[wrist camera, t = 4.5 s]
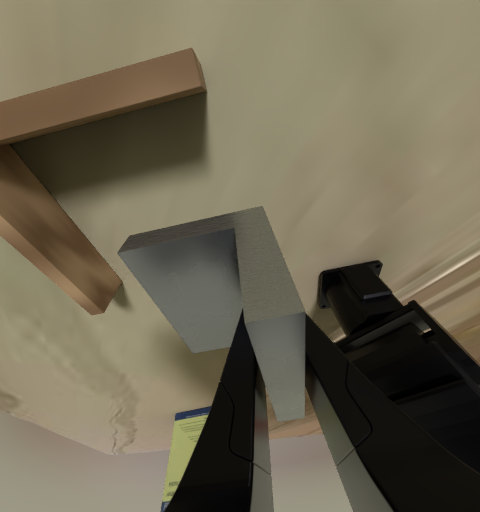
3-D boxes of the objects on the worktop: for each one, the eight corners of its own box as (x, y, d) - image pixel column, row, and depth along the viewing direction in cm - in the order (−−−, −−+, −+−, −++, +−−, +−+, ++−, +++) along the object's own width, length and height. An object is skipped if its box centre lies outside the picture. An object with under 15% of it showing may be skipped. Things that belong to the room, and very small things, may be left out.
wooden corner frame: (245, 255, 20) (250, 284, 17) (111, 283, 21) (91, 315, 18) (200, 64, 11) (191, 47, 8) (-27, 127, 12) (-115, 134, 9)
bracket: (278, 320, 13) (304, 417, 9) (195, 335, 13) (183, 435, 9) (262, 205, 8) (305, 311, 4) (129, 235, 8) (41, 360, 4)
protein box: (174, 413, 49) (158, 517, 36) (232, 401, 46) (236, 508, 34) (194, 422, 55) (186, 514, 42) (246, 412, 52) (253, 506, 40)
